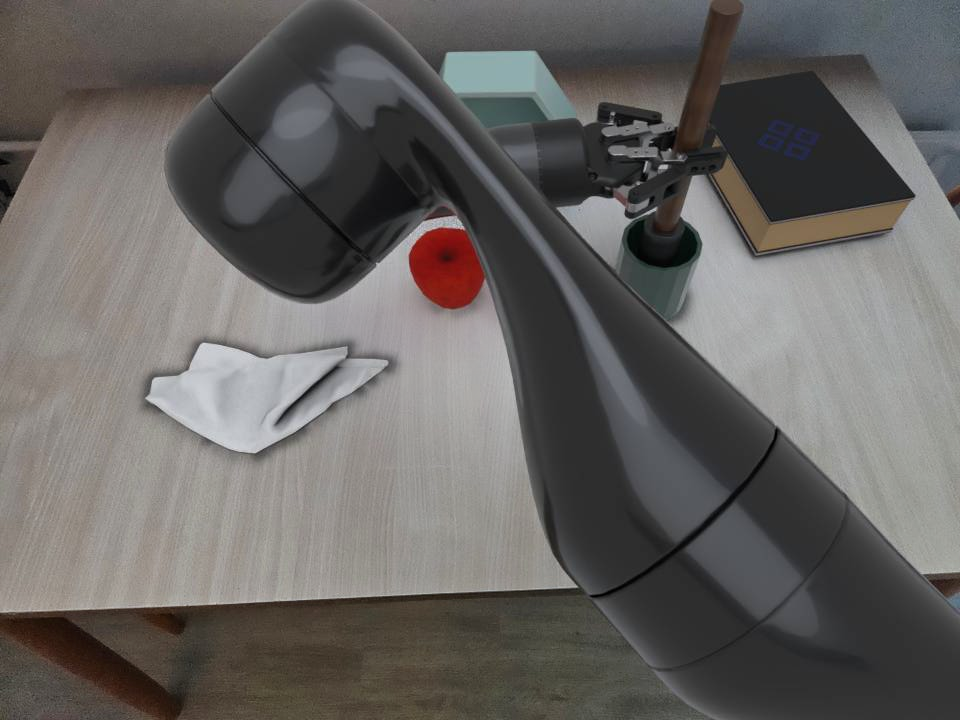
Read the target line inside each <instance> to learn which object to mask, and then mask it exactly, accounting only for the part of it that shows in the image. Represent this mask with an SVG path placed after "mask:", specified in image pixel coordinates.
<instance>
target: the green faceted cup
mask: <svg viewBox="0 0 960 720" xmlns="http://www.w3.org/2000/svg"><path fill="white" fill-rule="evenodd" d="M649 214H650V213H648V214H647V213H646V214H643V215H641V216H639V217H637V218H635V219H632V220H631V222H629V223H628V225H626V227H625V228H624V229H623V232H622V236H621V240H620V245H619V250H618V255H617V259H616V264H615V269H614V271H615V272H616V273H617V274H618V275H619V276H620V277H621V278H622V279H623V280H624V281H625V282H626V283H627V284H628V285H629V286H630V287H631V288H632V289H634V290H635V291H636V292H637V293H638V294H639V295H640V296H641V297H642V298H643V299H644V300H645V301H646V302H647V303H648V304H649V305H650V306H651V307H652V308H653V309H654V310H656V311H657V312H658V313H659V314H660V315H661V316H662V317H663V318H664V319H665V320H666V321H667V322H668V320H671V319H673V318H674V317H675V316H676V315H677V314H678V313H679V312H680V311H681V308H682V306H683V304H684V302H685V299H686V297H687V294H688V291H689V288H690V285H691V283H692V280H693V277H694V275H695V272H696V269H697V266H698V263H699V261H700V257H701V254H702V250H703V241H702V238H701V236H700V233H699V231H697V229H696V228H694V227H693V225H692V224H691V223H690V222H688V221H686V220H684V222H685V229H684V232H683V236H682V239H681V242H680V245H679V248H678V251H677V254H676V257H675V260H674V263H673V266H672V267H668V268H661V267H656V266H652V265H648V264H646V263H644V262H643V261H641V260H639V259H637V258H636V256H637V252H638V248H639V244H640V240H641V236H642V232H643V228H644V224H645V220H646V217H647V216H648V215H649Z"/></svg>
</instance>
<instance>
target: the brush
mask: <svg viewBox="0 0 960 720" xmlns="http://www.w3.org/2000/svg"><path fill="white" fill-rule="evenodd" d="M744 10H745V5H744V3H743V2H742V1H741V0H712V1H711V2H710V4H709V8H708V11H707V16H706V19H705V23H704V27H703V30H702V34H701V38H700V43H699V46H698V50H697V54H696V57H695V61H694V65H693V69H692V73H691V76H690V80H689V84H688V88H687V91H686V96H685V99H684V103H683V107H682V111H681V114H680V118H679V122H678V125H677V127H678V129H677V133H676V137H675V141H674V144H673V148H672V151H682V152H685V150H689V149H690V150H691V149H698V148H701V147H702V143H703V140H704V137H705V134H706V130H707V127H708V124H709V121H710V117H711V114H712V111H713V108H714V104H715V101H716V98H717V95H718V91H719V88H720V85H722V81H723V78H724V75H725V71H726V68H727V65H728V62H729V59H730V56H731V53H732V49H733V45H734V42H735V39H736V37H737V33H738V29H739V26H740V23H741V20H742V17H743V13H744ZM666 169H670V165H667V168H666ZM692 179H693V176H687V177H684V180H683V183H682V186H681V190H680V193H679V195H678V196H676V197H674V198H672V199H670V200H668V201H667V202H665V203H663V204H661V205H659V206H657V207H656V208H655V210H654V211H652V212H650V213H648V214H649V215H648V216H647V217H646V220H645V224H644V228H643V232H642V236H641V240H640V244H639V248H638V252H637V256H636V258H637V259H639V260H641V261H643V262H644V263H646V264H648V265H652V266H656V267H661V268H668V267H672V266H673V263H674V260H675V257H676V254H677V251H678V248H679V245H680V242H681V239H682V236H683V232H684V229H685V222H684V221H685V220H684V218H683V217H682V216H681V214H682V211H683V208H684V205H685V201H686V199H687V195H688V192H689V188H690V185H691V182H692Z"/></svg>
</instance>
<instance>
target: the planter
mask: <svg viewBox="0 0 960 720" xmlns="http://www.w3.org/2000/svg"><path fill="white" fill-rule="evenodd" d="M438 75H439V76H440V77H441V78H442V79H443V80H444V81H445V82H446V83H447V85H448V86H449V87H450V88H451V89H452V90H453V91H454V92H455V94H456V95H457V96H458V97H459V98H460V99H461V100H462V102H463V103H464V104H465V105H466V106H467V107H468V108H469V110H470V111H471V112H472V113H473V114H474V115H475V116H476V118H477V119H478V120H479V121H480V122H481V123H482V124H483V126H484V127H485V128H486V129H489V128H492V127H496V126H502V125H510V124H520V123H529V122H538V121H548V120H558V119H567V118H576V119H578V114H577V110H576V109H575V108H574V106H573V104H572V103H571V102H570V100H569V98H568V97H567V95H566V94H565V92H564V91H563V90H562V88H561V87H560V85H559V83H558V82H557V80H556V79H555V78H554V76H553V75H552V73H551V72H550V70H549V69H548V67H547V66H546V64H545V63H544V61H543V60H542V58H541V57H540V55H539V53H538V52H537V51H536V50H499V51H498V50H497V51H495V50H494V51H491V50H489V51H447V52H446V53H445V56H444V58H443V61H442V64H441V67H440V69H439V73H438Z"/></svg>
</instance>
